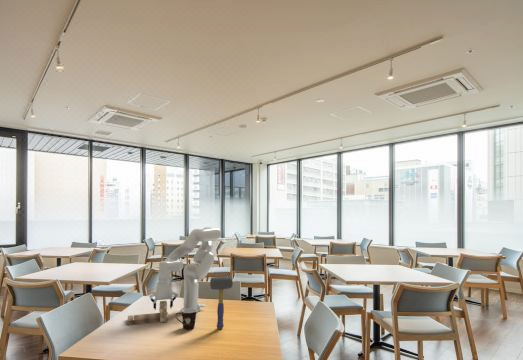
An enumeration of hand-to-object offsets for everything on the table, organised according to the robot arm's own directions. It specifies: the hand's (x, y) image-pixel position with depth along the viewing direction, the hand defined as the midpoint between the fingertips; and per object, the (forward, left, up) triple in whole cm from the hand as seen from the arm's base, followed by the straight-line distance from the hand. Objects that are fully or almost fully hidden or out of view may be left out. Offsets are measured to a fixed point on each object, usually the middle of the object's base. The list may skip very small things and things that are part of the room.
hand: (163, 308), depth 207 cm
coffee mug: (-12, +21, -7) cm, 25 cm away
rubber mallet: (-30, +29, -7) cm, 42 cm away
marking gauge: (0, +1, -6) cm, 6 cm away
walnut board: (+9, 0, -6) cm, 11 cm away
